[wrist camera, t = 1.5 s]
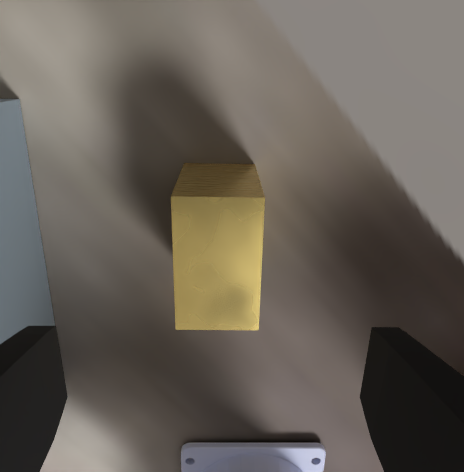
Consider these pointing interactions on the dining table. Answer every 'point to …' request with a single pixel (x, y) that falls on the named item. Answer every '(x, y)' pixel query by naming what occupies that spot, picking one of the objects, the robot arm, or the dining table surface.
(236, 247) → the gold block
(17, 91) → the dining table surface
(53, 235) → the dining table surface
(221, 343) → the dining table surface
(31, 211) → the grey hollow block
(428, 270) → the dining table surface
